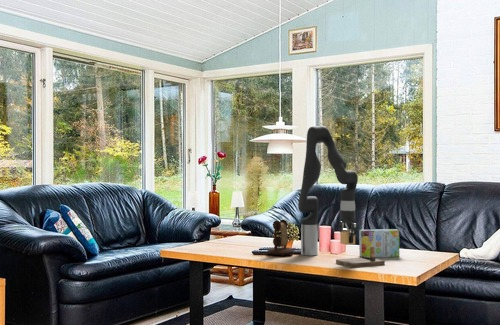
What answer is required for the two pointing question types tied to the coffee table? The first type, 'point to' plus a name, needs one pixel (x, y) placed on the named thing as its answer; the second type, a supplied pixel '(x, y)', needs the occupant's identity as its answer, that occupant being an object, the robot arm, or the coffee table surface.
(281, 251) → the brown upright piece
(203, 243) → the coffee table surface
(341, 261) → the board
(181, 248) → the coffee table surface
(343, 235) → the tan wooden block
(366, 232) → the snack box
